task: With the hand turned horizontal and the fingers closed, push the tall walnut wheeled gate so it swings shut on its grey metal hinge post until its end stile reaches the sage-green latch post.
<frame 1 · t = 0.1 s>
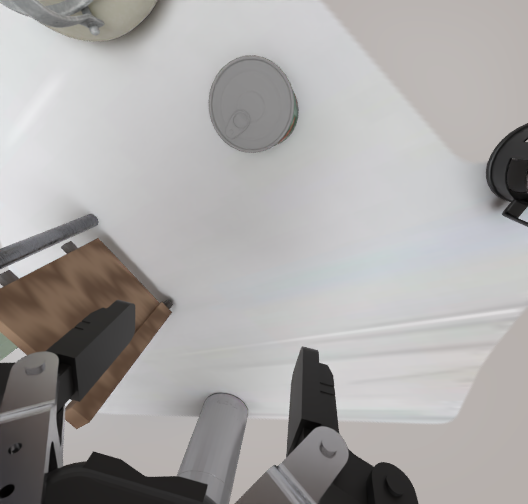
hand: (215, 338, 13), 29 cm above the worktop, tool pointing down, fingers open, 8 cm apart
french press: (526, 167, 34), on the worktop
latch post: (64, 298, 53), on the worktop
hinge post: (92, 220, 45), on the worktop
canned tomato: (267, 113, 36), on the worktop
gate: (92, 306, 38), point 11 cm above the worktop, hinge at 60.0°
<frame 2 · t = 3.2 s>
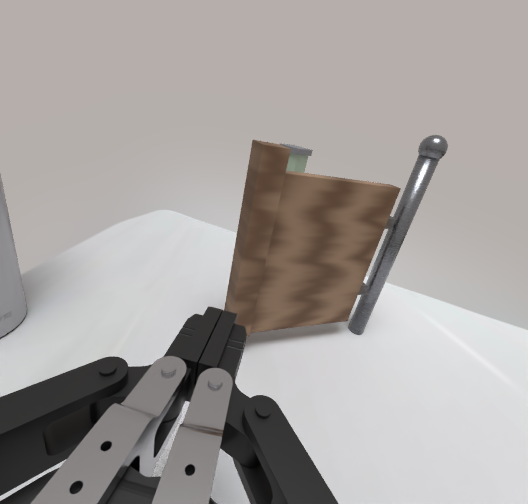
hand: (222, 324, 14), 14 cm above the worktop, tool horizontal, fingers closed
latch post: (268, 267, 51), on the worktop
hinge post: (355, 329, 40), on the worktop
gate: (314, 260, 31), point 11 cm above the worktop, hinge at 60.0°
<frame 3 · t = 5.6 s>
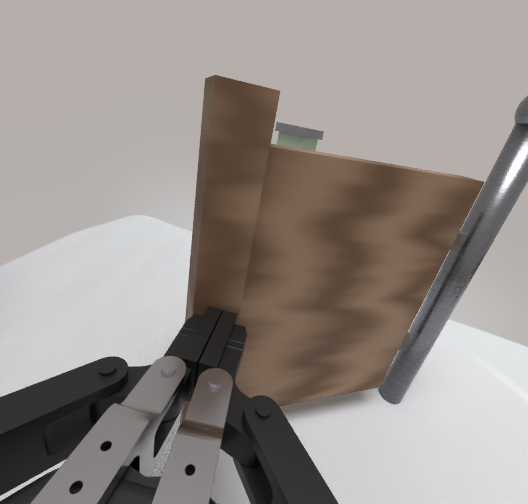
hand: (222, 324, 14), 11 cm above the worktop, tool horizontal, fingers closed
latch post: (264, 293, 38), on the worktop
hinge post: (390, 394, 27), on the worktop
gate: (329, 303, 18), point 11 cm above the worktop, hinge at 57.5°
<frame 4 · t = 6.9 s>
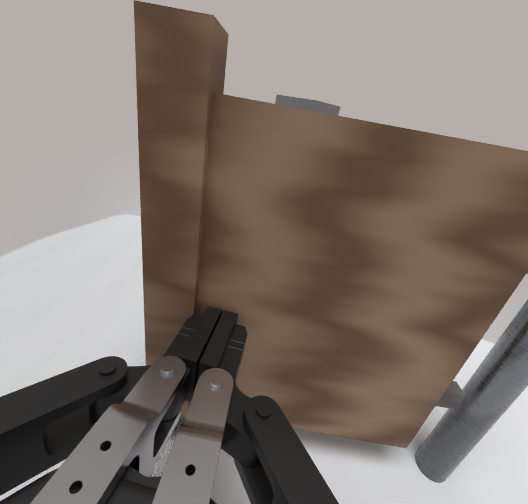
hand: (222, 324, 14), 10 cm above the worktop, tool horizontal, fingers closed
latch post: (264, 311, 31), on the worktop
hinge post: (430, 465, 20), on the worktop
gate: (325, 312, 14), point 11 cm above the worktop, hinge at 36.8°, touching gripper
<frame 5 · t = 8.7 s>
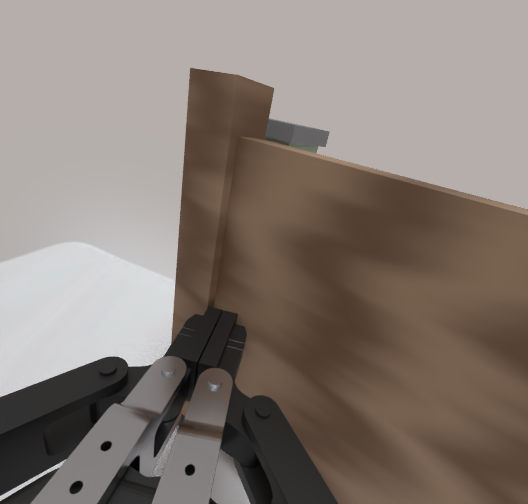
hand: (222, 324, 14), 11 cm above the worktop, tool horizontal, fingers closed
latch post: (230, 386, 24), on the worktop
gate: (328, 376, 13), point 11 cm above the worktop, hinge at 4.0°, touching gripper
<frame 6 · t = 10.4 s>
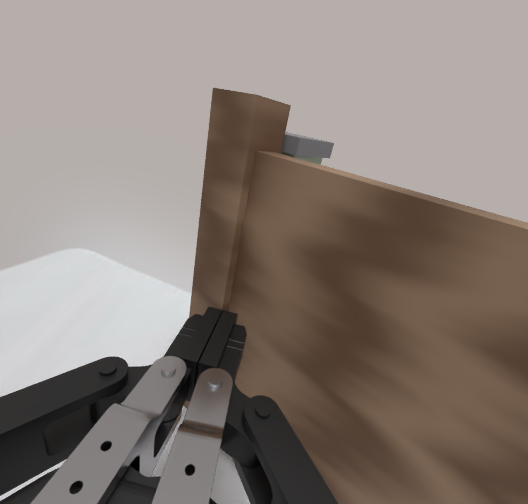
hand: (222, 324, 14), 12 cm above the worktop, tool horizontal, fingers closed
latch post: (233, 396, 24), on the worktop
gate: (337, 383, 13), point 11 cm above the worktop, hinge at 1.2°
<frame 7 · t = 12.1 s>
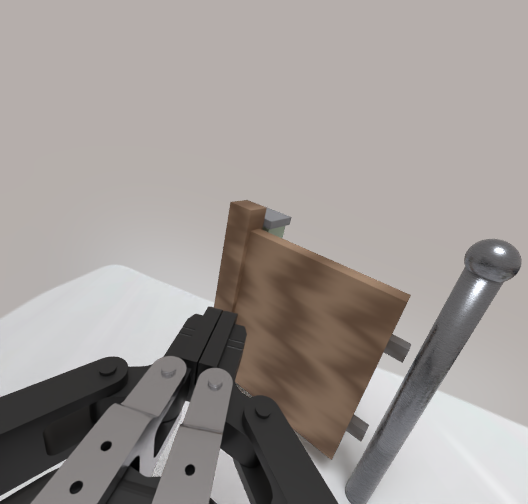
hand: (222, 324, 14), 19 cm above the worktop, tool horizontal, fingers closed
latch post: (235, 363, 37), on the worktop
hinge post: (355, 494, 26), on the worktop
gate: (290, 340, 27), point 11 cm above the worktop, hinge at 1.2°
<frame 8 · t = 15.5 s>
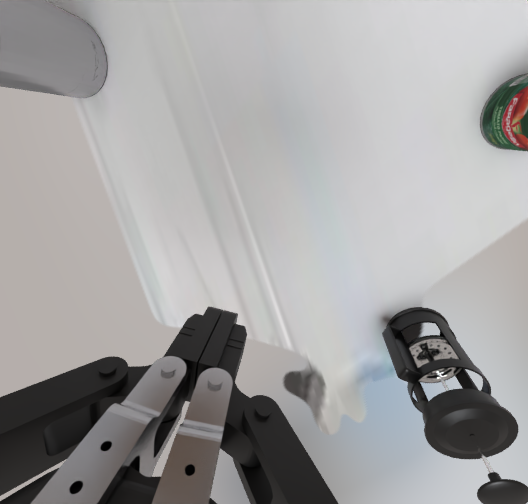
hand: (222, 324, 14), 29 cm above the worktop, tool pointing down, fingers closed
french press: (412, 329, 46), on the worktop
canned tomato: (516, 113, 33), on the worktop
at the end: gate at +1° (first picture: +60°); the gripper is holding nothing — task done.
